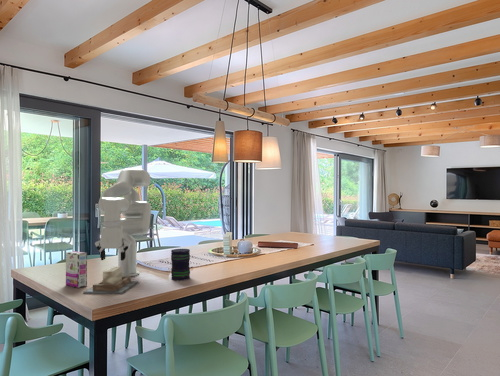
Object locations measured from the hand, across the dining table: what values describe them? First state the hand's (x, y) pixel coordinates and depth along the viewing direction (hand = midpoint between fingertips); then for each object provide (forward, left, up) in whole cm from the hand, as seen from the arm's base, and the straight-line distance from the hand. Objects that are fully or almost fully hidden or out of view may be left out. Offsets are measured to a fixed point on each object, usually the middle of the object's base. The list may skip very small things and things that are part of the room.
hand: (113, 259), depth 173 cm
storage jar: (-19, +28, -14) cm, 37 cm away
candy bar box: (-3, -20, -14) cm, 24 cm away
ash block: (+1, 0, -12) cm, 12 cm away
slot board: (+1, 0, -13) cm, 13 cm away
